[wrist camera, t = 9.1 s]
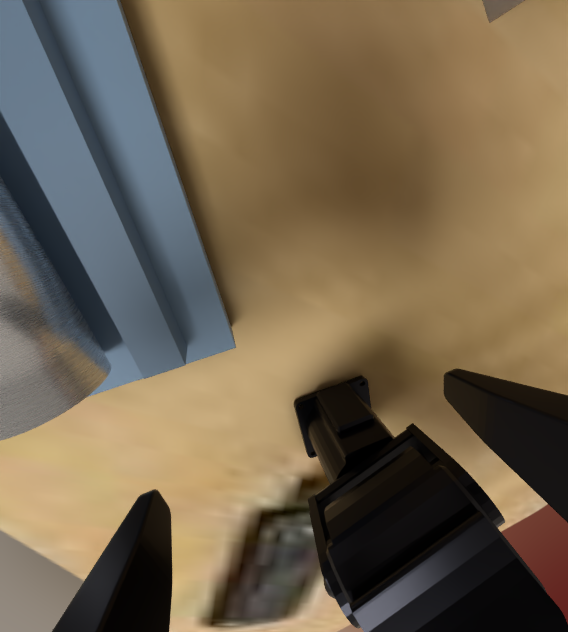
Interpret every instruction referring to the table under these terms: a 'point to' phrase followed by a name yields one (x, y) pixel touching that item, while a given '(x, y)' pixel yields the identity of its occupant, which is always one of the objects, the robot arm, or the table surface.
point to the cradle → (104, 186)
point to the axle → (39, 332)
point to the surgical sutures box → (498, 7)
